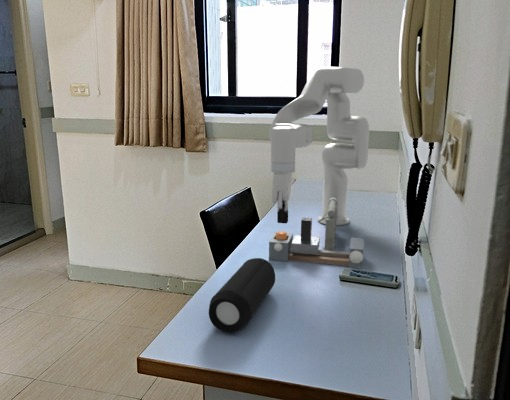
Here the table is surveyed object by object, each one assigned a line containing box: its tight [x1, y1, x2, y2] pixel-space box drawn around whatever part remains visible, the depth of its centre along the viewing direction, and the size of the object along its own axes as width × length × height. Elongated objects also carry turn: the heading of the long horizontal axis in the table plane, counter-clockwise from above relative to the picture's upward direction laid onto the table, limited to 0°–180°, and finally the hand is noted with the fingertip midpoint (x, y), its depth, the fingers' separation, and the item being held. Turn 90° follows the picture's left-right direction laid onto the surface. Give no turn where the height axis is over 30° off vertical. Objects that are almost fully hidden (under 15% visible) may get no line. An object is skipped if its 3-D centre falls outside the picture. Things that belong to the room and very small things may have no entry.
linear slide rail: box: [268, 231, 365, 269], centre depth 148 cm, size 10×29×6 cm, turn 77°
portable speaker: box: [208, 257, 276, 334], centre depth 114 cm, size 26×10×10 cm, turn 162°
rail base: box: [288, 248, 350, 267], centre depth 149 cm, size 8×29×2 cm, turn 77°
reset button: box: [275, 230, 288, 240], centre depth 150 cm, size 4×4×4 cm
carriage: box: [291, 217, 321, 254], centre depth 148 cm, size 8×8×10 cm
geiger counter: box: [318, 197, 340, 251], centre depth 166 cm, size 14×6×25 cm
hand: (282, 222), depth 150 cm, fingers closed
